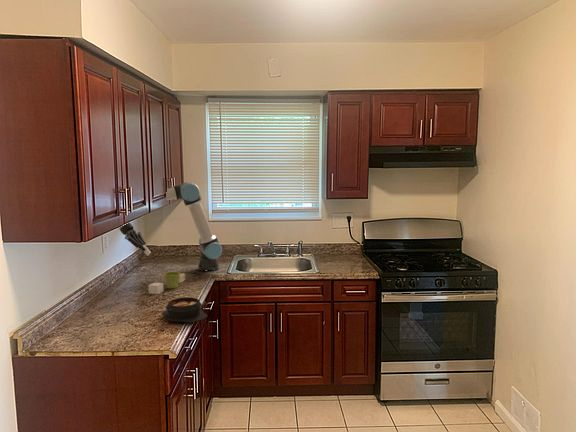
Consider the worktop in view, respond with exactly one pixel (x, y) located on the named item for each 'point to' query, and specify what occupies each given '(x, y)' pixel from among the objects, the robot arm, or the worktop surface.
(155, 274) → the worktop surface
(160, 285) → the grey block
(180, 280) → the birch block
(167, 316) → the casserole
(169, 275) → the plant pot
